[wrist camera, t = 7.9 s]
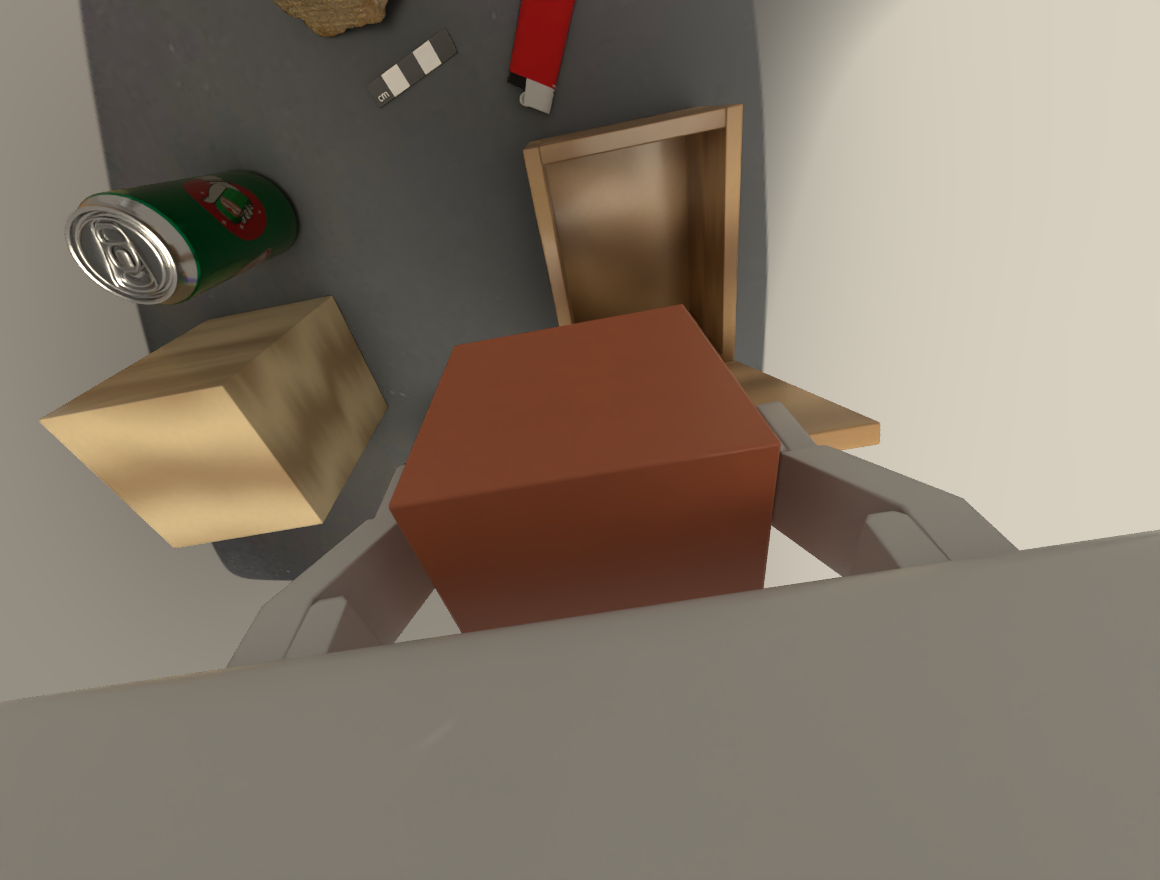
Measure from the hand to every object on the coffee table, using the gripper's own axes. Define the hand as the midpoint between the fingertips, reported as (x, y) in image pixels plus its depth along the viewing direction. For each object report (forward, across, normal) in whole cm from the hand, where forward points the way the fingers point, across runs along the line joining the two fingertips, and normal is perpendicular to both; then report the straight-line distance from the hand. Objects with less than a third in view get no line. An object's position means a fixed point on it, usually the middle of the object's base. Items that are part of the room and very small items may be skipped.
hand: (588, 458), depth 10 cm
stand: (+27, +23, +7) cm, 36 cm away
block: (+2, 0, 0) cm, 2 cm away
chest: (+27, -4, +2) cm, 27 cm away
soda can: (+27, +20, -4) cm, 34 cm away
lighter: (+27, -1, -10) cm, 29 cm away
